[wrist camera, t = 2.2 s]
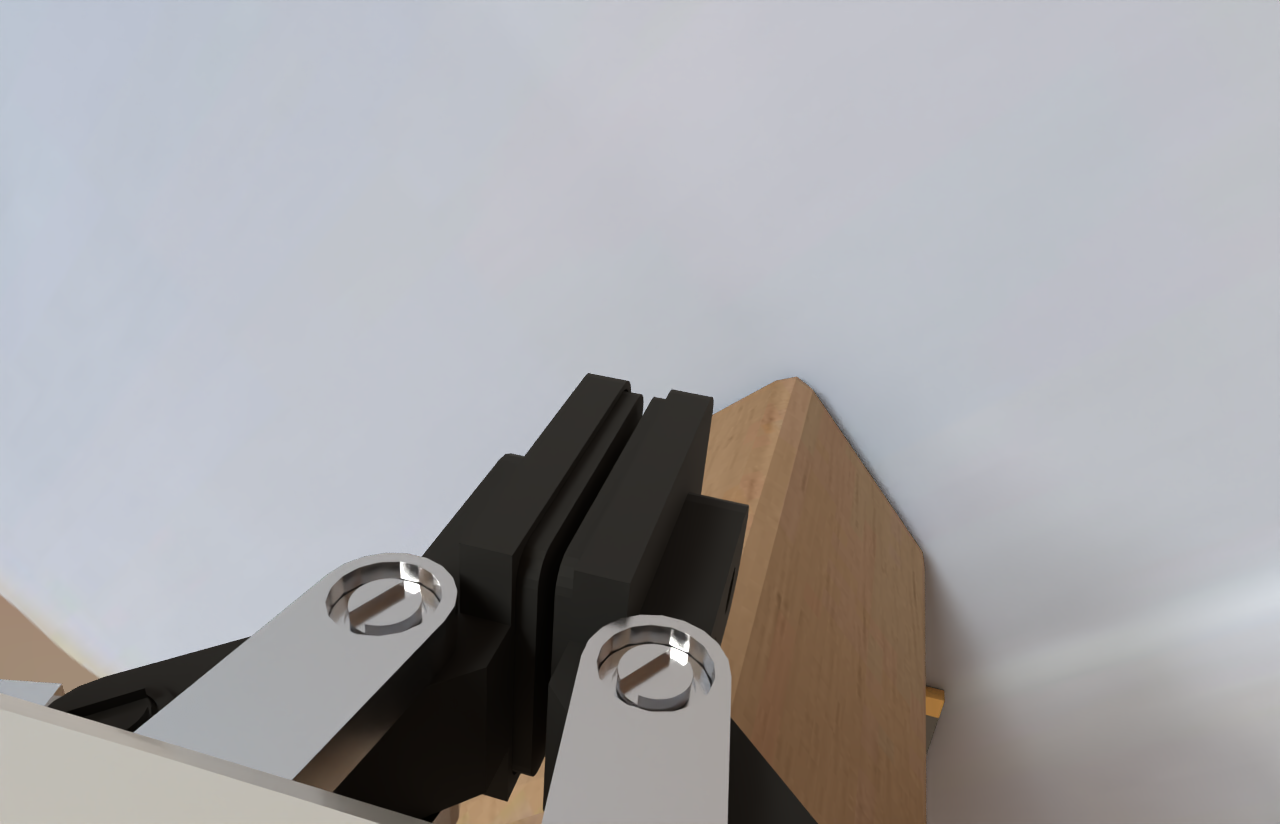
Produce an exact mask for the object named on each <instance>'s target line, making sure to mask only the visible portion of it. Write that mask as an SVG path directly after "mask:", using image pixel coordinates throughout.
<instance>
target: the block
mask: <svg viewBox="0 0 1280 824" xmlns="http://www.w3.org/2000/svg"><path fill="white" fill-rule="evenodd" d="M701 495H705V496H710V497H714V498H719V499H724V500H728V501H733V502H737V503H742V504H747V505H749V513H748V520H747V526H746V532H745V538H744V544H743V549H742V555H741V561H740V566H739V571H738V576H737V581H736V586H735V591H734V595H733V600H732V604H731V608H730V612H729V616H728V620H727V624H726V628H725V632H724V636H723V639H722V643H721V649H722V650H723V652H724V653H725V655H726V657H727V658H728V661H729V666H730V671H731V714H730V717H731V718H732V719H733V720H734V722H735V723H736V724H737V725H738V726H739V728H740V729H741V730H742V731H743V733H744V734H745V735H746V736H747V737H748V739H749V740H750V741H751V742H752V744H753V745H754V746H755V747H756V748H757V750H758V751H759V752H760V753H761V755H762V756H763V757H764V758H765V759H766V761H767V762H768V763H769V764H770V766H771V767H772V768H773V769H774V770H775V772H776V773H777V774H778V775H779V777H780V778H781V779H782V780H783V781H784V783H785V784H786V785H787V786H788V788H789V789H790V790H791V791H792V792H793V794H794V795H795V796H796V797H797V798H798V800H799V801H800V802H801V803H802V805H803V806H804V807H805V808H806V809H807V811H808V812H809V813H810V814H811V816H812V817H813V818H814V819H815V820H816V822H817V823H818V824H926V671H925V566H924V559H923V552H922V551H921V549H920V548H919V546H918V545H917V543H916V542H915V540H914V539H913V537H912V536H911V534H910V533H909V531H908V530H907V529H906V527H905V526H904V524H903V523H902V521H901V520H900V518H899V517H898V515H897V514H896V512H895V511H894V509H893V508H892V506H891V505H890V503H889V502H888V500H887V499H886V497H885V496H884V494H883V493H882V491H881V490H880V489H879V487H878V486H877V484H876V483H875V481H874V480H873V478H872V477H871V475H870V474H869V472H868V471H867V469H866V468H865V466H864V465H863V463H862V462H861V460H860V459H859V457H858V456H857V454H856V453H855V452H854V450H853V449H852V447H851V446H850V444H849V443H848V441H847V440H846V438H845V437H844V435H843V434H842V432H841V431H840V429H839V428H838V426H837V425H836V423H835V422H834V420H833V419H832V417H831V416H830V415H829V413H828V412H827V410H826V409H825V407H824V406H823V404H822V403H821V401H820V400H819V398H818V397H817V395H816V394H815V392H814V391H813V390H812V389H811V388H810V387H809V386H808V385H807V384H805V383H804V382H803V381H802V380H800V379H799V378H798V377H792V378H787V379H782V380H777V381H774V382H773V383H771V384H769V385H767V386H765V387H763V388H761V389H760V390H758V391H756V392H754V393H752V394H750V395H749V396H747V397H745V398H743V399H741V400H739V401H737V402H736V403H734V404H732V405H730V406H728V407H726V408H724V409H723V410H721V411H719V412H717V413H715V414H713V415H712V420H711V427H710V434H709V442H708V449H707V456H706V463H705V470H704V477H703V484H702V492H701ZM544 770H545V757H544V760H543V762H542V764H541V766H540V768H539V770H538V772H537V774H536V775H535V776H533V777H532V776H528V775H525V774H520V776H519V778H518V780H517V782H516V785H515V787H514V789H513V791H512V793H511V795H510V797H509V800H508V802H506V801H503V800H500V799H496V798H493V797H489V796H486V795H483V794H482V795H479V796H477V797H474V798H472V799H469V800H467V801H464V802H462V803H461V805H460V813H459V819H458V821H457V823H456V824H541V823H542V819H543V815H544V811H543V791H544Z"/></svg>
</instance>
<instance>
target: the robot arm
mask: <svg viewBox="0 0 1280 824" xmlns="http://www.w3.org/2000/svg"><path fill="white" fill-rule="evenodd" d="M712 413H713V397H708V396H703V395H698V394H692V393H687V392H682V391H677V390H671V391H670V392H669V394H668V396H667V398H666V399H662V398H657V397H653V399H652V400H651V402H650V404H649V405H648V407H647V409H646V411H645V412H644V414H643V395H642V394H636V393H631V385H630V382H629V381H626V380H621V379H615V378H610V377H605V376H600V375H595V374H590V373H588V374H587V375H586V376H585V377H584V378H583V380H582V381H581V382H580V384H579V385H578V386H577V388H576V389H575V390H574V392H573V393H572V394H571V395H570V397H569V398H568V399H567V401H566V402H565V403H564V405H563V406H562V407H561V409H560V410H559V411H558V413H557V414H556V415H555V417H554V418H553V419H552V421H551V422H550V423H549V425H548V426H547V427H546V429H545V430H544V431H543V432H542V434H541V435H540V436H539V438H538V439H537V440H536V442H535V443H534V444H533V446H532V447H531V448H530V450H529V451H528V452H527V454H526V455H525V456H520V455H515V454H505V455H504V456H503V457H502V458H501V459H500V460H499V461H498V462H497V463H496V465H495V466H494V467H493V468H492V470H491V471H490V472H489V473H488V475H487V476H486V477H485V478H484V480H483V481H482V482H481V483H480V485H479V486H478V487H477V488H476V490H475V491H474V492H473V493H472V495H471V496H470V497H469V498H468V500H467V501H466V502H465V503H464V505H463V506H462V507H461V508H460V510H459V511H458V512H457V513H456V514H455V516H454V517H453V518H452V519H451V521H450V522H449V523H448V524H447V526H446V527H445V528H444V529H443V531H442V532H441V533H440V534H439V536H438V537H437V538H436V539H435V541H434V542H433V543H432V544H431V546H430V547H429V548H428V549H427V551H426V552H425V553H424V554H423V556H422V557H421V556H416V555H412V554H408V553H382V554H376V555H370V556H364V557H361V558H359V559H356V560H353V561H350V562H347V563H345V564H343V565H341V566H340V567H338V568H337V569H335V570H333V571H332V572H330V573H329V574H327V575H326V576H325V577H323V578H322V579H321V580H320V581H319V582H317V583H316V584H315V585H314V586H312V587H311V588H310V589H309V590H308V591H306V592H305V593H304V594H303V595H301V596H300V597H299V598H298V599H296V600H295V601H294V602H293V603H292V604H290V605H289V606H288V607H287V608H285V609H284V610H283V611H282V612H281V613H279V614H278V615H277V616H276V617H274V618H273V619H272V620H271V621H269V622H268V623H267V624H266V625H265V626H263V627H262V628H261V629H260V630H258V631H257V632H256V633H255V634H254V635H252V636H251V637H247V638H244V639H240V640H236V641H233V642H229V643H225V644H222V645H218V646H215V647H211V648H207V649H204V650H200V651H196V652H193V653H189V654H186V655H182V656H178V657H175V658H171V659H168V660H164V661H160V662H157V663H153V664H149V665H146V666H142V667H139V668H135V669H131V670H128V671H124V672H120V673H117V674H113V675H110V676H106V677H103V678H100V679H98V680H95V681H92V682H90V683H87V684H84V685H81V686H79V687H77V688H75V689H73V690H72V691H70V692H68V693H67V694H65V693H64V690H63V687H62V684H56V683H42V682H28V681H14V680H1V679H0V824H456V823H457V821H458V819H459V813H460V805H461V803H462V802H464V801H467V800H469V799H472V798H474V797H477V796H479V795H482V794H483V795H486V796H489V797H493V798H496V799H500V800H503V801H506V802H508V800H509V797H510V795H511V793H512V791H513V789H514V787H515V785H516V782H517V780H518V778H519V776H520V774H525V775H528V776H532V777H533V776H535V775H536V774H537V772H538V770H539V768H540V766H541V764H542V762H543V760H544V757H545V770H544V791H543V811H544V815H543V819H542V823H541V824H818V823H817V822H816V820H815V819H814V818H813V817H812V816H811V814H810V813H809V812H808V811H807V809H806V808H805V807H804V806H803V805H802V803H801V802H800V801H799V800H798V798H797V797H796V796H795V795H794V794H793V792H792V791H791V790H790V789H789V788H788V786H787V785H786V784H785V783H784V781H783V780H782V779H781V778H780V777H779V775H778V774H777V773H776V772H775V770H774V769H773V768H772V767H771V766H770V764H769V763H768V762H767V761H766V759H765V758H764V757H763V756H762V755H761V753H760V752H759V751H758V750H757V748H756V747H755V746H754V745H753V744H752V742H751V741H750V740H749V739H748V737H747V736H746V735H745V734H744V733H743V731H742V730H741V729H740V728H739V726H738V725H737V724H736V723H735V722H734V720H733V719H732V718H731V717H730V714H731V671H730V666H729V661H728V658H727V657H726V655H725V653H724V652H723V650H722V649H721V643H722V639H723V636H724V632H725V628H726V624H727V620H728V616H729V612H730V608H731V604H732V600H733V595H734V591H735V586H736V581H737V576H738V571H739V566H740V561H741V555H742V549H743V544H744V538H745V532H746V526H747V520H748V513H749V505H747V504H742V503H737V502H733V501H728V500H724V499H719V498H714V497H710V496H705V495H701V492H702V484H703V477H704V470H705V463H706V456H707V449H708V442H709V434H710V427H711V420H712ZM642 414H643V416H642Z"/></svg>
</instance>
